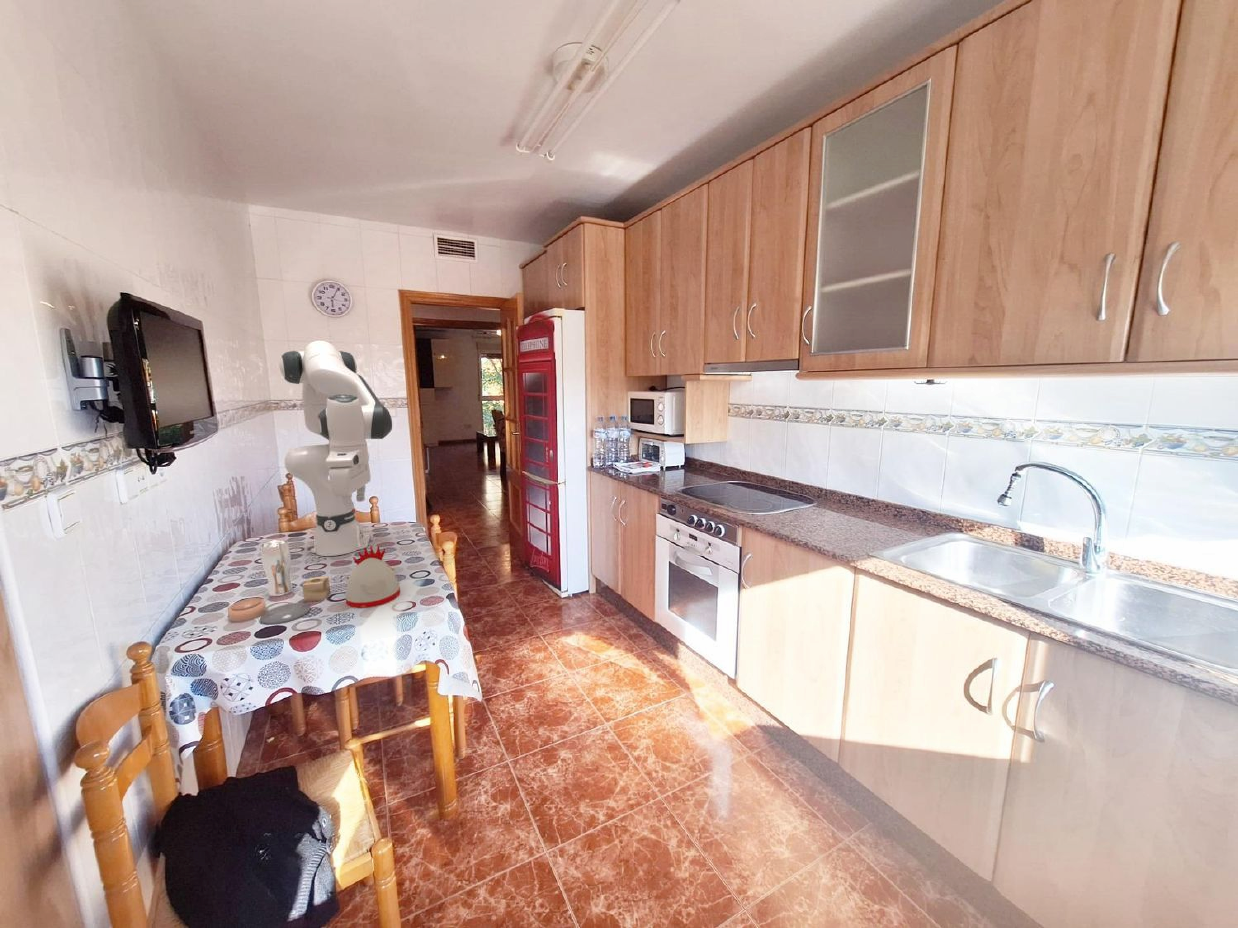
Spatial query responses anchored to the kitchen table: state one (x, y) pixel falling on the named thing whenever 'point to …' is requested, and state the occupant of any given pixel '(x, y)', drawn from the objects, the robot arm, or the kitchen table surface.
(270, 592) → the beer glass
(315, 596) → the oak block
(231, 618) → the ramekin
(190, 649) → the kitchen table surface
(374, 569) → the kitchen timer
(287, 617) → the coaster
